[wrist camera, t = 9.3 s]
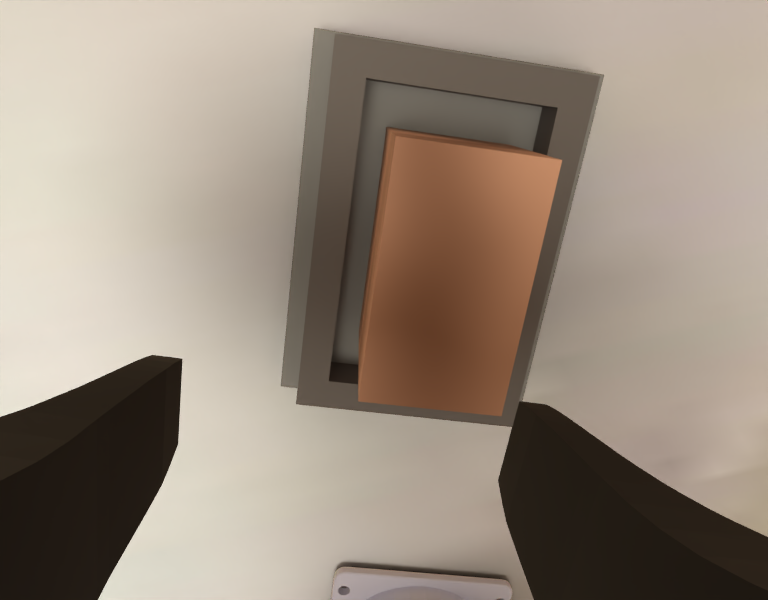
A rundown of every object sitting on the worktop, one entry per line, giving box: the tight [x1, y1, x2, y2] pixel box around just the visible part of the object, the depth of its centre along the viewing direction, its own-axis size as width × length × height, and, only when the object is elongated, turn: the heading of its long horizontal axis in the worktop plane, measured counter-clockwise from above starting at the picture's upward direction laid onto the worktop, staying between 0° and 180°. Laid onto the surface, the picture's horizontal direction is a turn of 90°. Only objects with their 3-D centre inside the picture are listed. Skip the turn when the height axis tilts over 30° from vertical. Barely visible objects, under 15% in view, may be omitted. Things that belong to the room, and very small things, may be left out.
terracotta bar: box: [358, 127, 562, 416], centre depth 17 cm, size 4×7×5 cm, turn 172°
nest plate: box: [281, 28, 604, 427], centre depth 19 cm, size 12×9×3 cm
